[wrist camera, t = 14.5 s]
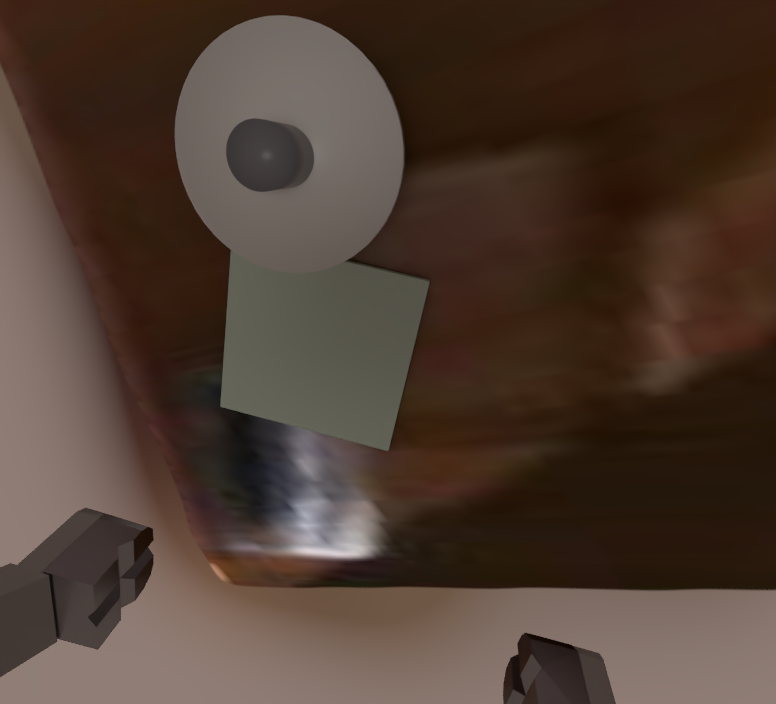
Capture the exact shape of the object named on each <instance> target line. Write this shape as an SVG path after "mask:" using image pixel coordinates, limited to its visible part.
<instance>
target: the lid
mask: <svg viewBox="0 0 776 704" xmlns="http://www.w3.org/2000/svg"><path fill="white" fill-rule="evenodd" d="M175 148H176V155H177V161H178V167H179V170H180V174H181V178H182V181H183V184H184V186H185V189H186V191H187V194H188V196H189V198H190V200H191V202H192V204H193V206H194V208H195V210H196V211H197V213H198V214H199V216H200V217H201V219H202V220H203V222H204V223H205V224H206V226H207V227H208V228H209V229H210V230H211V232H212V233H213V234H214V235H215V236H216V237H217V238H218V239H219V240H220V241H221V242H222V243H223V244H224V245H226V246H227V247H228V248H229V249H231V250H232V251H233V252H235V253H236V254H238V255H239V256H241V257H243V258H244V259H246V260H248V261H250V262H252V263H254V264H256V265H259V266H261V267H264V268H267V269H271V270H274V271H280V272H286V273H310V272H317V271H321V270H325V269H329V268H331V267H334V266H336V265H339V264H341V263H343V262H344V261H346V260H348V259H350V258H351V257H353V256H354V255H356V254H357V253H358V252H359V251H361V250H362V249H363V248H365V247H366V246H367V245H368V244H369V243H370V242H371V241H372V240H373V239H374V238H375V237H376V236H377V235H378V233H379V232H380V231H381V229H382V228H383V227H384V225H385V224H386V222H387V221H388V219H389V217H390V215H391V213H392V212H393V210H394V207H395V205H396V202H397V199H398V197H399V194H400V190H401V186H402V182H403V176H404V168H405V142H404V133H403V127H402V123H401V119H400V115H399V112H398V109H397V106H396V103H395V101H394V98H393V96H392V94H391V92H390V90H389V88H388V86H387V84H386V82H385V81H384V79H383V78H382V76H381V75H380V73H379V72H378V70H377V69H376V68H375V66H374V65H373V64H372V63H371V62H370V61H369V60H368V59H367V57H366V56H365V55H364V54H363V53H362V52H361V51H360V50H359V49H358V48H357V47H355V46H354V45H353V44H352V43H351V42H350V41H348V40H347V39H346V38H345V37H343V36H341V35H340V34H338V33H337V32H335V31H334V30H332V29H330V28H328V27H326V26H324V25H321V24H319V23H317V22H314V21H311V20H307V19H304V18H300V17H292V16H284V15H281V16H265V17H261V18H256V19H251V20H249V21H246V22H244V23H241V24H239V25H236V26H234V27H233V28H231V29H229V30H228V31H226V32H224V33H223V34H221V35H220V36H219V37H218V38H217V39H215V40H214V41H213V42H212V43H211V44H210V45H209V46H208V47H207V48H206V49H205V50H204V52H203V53H202V54H201V55H200V56H199V58H198V59H197V61H196V62H195V64H194V65H193V67H192V68H191V70H190V72H189V74H188V77H187V79H186V81H185V83H184V85H183V89H182V92H181V95H180V98H179V102H178V107H177V113H176V121H175Z"/></svg>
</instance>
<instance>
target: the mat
mask: <svg viewBox="0 0 776 704" xmlns="http://www.w3.org/2000/svg"><path fill="white" fill-rule="evenodd" d="M429 283H430V280H429V279H425V278H420V277H416V276H412V275H408V274H404V273H400V272H395V271H391V270H387V269H383V268H379V267H375V266H370V265H366V264H362V263H358V262H354V261H350V260H346V261H344V262H343V263H341V264H339V265H336V266H334V267H331V268H329V269H325V270H321V271H317V272H310V273H286V272H280V271H274V270H271V269H267V268H264V267H261V266H259V265H256V264H254V263H252V262H250V261H248V260H246V259H244V258H243V257H241V256H239V255H238V254H236V253H235V252H233V251H232V250H231V256H230V271H229V286H228V301H227V316H226V331H225V346H224V361H223V376H222V391H221V406H220V407H224V408H227V409H231V410H235V411H239V412H242V413H246V414H250V415H254V416H257V417H261V418H265V419H269V420H273V421H276V422H280V423H284V424H288V425H291V426H295V427H299V428H303V429H307V430H310V431H314V432H318V433H322V434H325V435H329V436H333V437H337V438H340V439H344V440H348V441H352V442H356V443H359V444H363V445H367V446H371V447H374V448H378V449H382V450H386V451H388V450H389V446H390V442H391V438H392V434H393V430H394V426H395V422H396V418H397V414H398V410H399V405H400V401H401V397H402V393H403V389H404V385H405V381H406V377H407V373H408V369H409V365H410V361H411V356H412V352H413V348H414V344H415V340H416V336H417V332H418V328H419V324H420V320H421V316H422V312H423V307H424V303H425V299H426V295H427V291H428V287H429Z"/></svg>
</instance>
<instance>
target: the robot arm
mask: <svg viewBox="0 0 776 704" xmlns="http://www.w3.org/2000/svg"><path fill="white" fill-rule="evenodd" d="M152 541H153V529H152V528H150V527H147V526H144V525H140V524H137V523H134V522H131V521H128V520H124V519H121V518H118V517H115V516H112V515H108V514H105V513H101V512H98V511H95V510H92V509H88V508H84V509H82V510H80V511H78V512H76V513H75V514H74V515H73V516H71V518H69V519H68V520H67V521H66V522H65V523H64V524H63V525H61V526H60V527H59V528H58V529H57V530H56V531H55V532H54V533H53V534H52V535H50V536H49V537H48V538H47V539H46V540H45V541H44V542H43V543H41V544H40V545H39V546H38V547H37V548H36V549H35V550H34V551H32V552H31V553H30V554H29V555H28V556H27V557H26V558H25V559H24V560H22V561H21V562H20V563H19V564H18V565H15V564H11V563H10V564H8V565H5V566H3V567H0V677H1V676H3V675H4V674H6V673H7V672H9V671H11V670H12V669H14V668H16V667H17V666H19V665H20V664H22V663H24V662H25V661H27V660H28V659H30V658H32V657H33V656H35V655H36V654H38V653H40V652H41V651H43V650H45V649H46V648H48V647H49V646H51V645H52V644H54V643H56V642H57V639H60V640H64V641H68V642H72V643H75V644H79V645H83V646H86V647H91V648H94V649H99V648H100V646H101V645H102V644H103V642H104V641H105V640H106V638H107V637H108V636H109V634H110V633H111V632H112V630H113V629H114V628H115V627H116V625H117V624H118V623H119V621H120V620H121V607H124V606H126V605H127V604H129V603H131V602H133V601H135V600H136V599H137V597H138V596H139V594H140V593H141V592H142V590H143V589H144V587H145V585H146V583H147V581H148V579H149V577H150V575H151V571H152V567H153V554H152V552H151V551H150V550H149V548H148V546H149V545H150V543H151V542H152ZM503 699H504V704H616V703H615V700H614V696H613V693H612V689H611V686H610V682H609V678H608V675H607V671H606V667H605V664H604V660H603V658H602V657H601V655H600V654H599V653H596V652H592V651H589V650H585V649H582V648H578V647H575V646H572V645H569V644H565V643H562V642H558V641H555V640H551V639H547V638H543V637H540V636H536V635H532V634H528V633H524V634H523V635H522V636H521V638H520V640H519V642H518V655H516V656H513V657H511V659H510V661H509V663H508V666H507V668H506V673H505V678H504V688H503Z"/></svg>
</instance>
